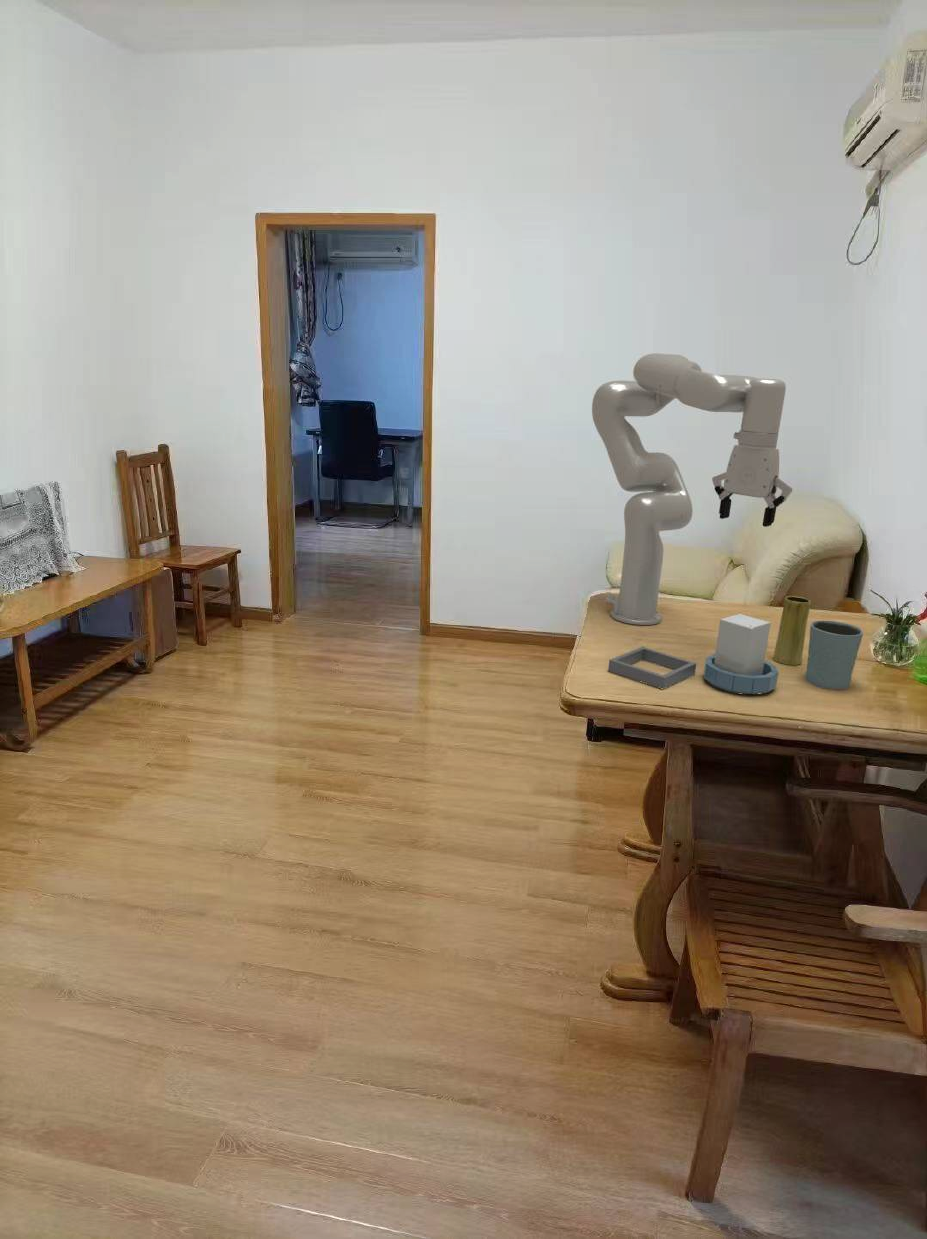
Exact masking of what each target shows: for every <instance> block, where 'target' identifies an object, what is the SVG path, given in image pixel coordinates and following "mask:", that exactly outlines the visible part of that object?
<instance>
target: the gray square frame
mask: <svg viewBox="0 0 927 1239" xmlns="http://www.w3.org/2000/svg"><path fill="white" fill-rule="evenodd" d="M641 661H646V662H649V663H651V664H655V663H656V665H658V664H659V666H661V667H664V668H667V669H671V671H670V672H667V673H666V674H660V673H657V672H654V671H651V670H647V669H646V668H645V669H644V668H642V667H639V666H636V665H633V663H634V664H635V663H638V662H641ZM696 667H697V662H694V661H691V660H688V659H684V658H681V657H679V656H678V657H677V656H675V655H671V654H668V653H664V652H662V651H658V650H654V649H652V648H648V647H644V646H640V647H639V648H636V649H633V650H631V651H629V652H625V653H623V654H621V655H619V656H615V657H613V658H611V659H609V660H608V668H607V671H608V672H610V673H613V674H616V675H618V676H621V675H623V676H622V677H624V676H625V678H627V679H630V680H632V681H636V680H637V682H639V681H642V682H644V683H643V684H645V683H647V684H646V685H648V684H650V685H649V686H651V685H652V686H651V687H654V686H655V687H654V688H657V687H660V688H663V689H664V688H665V687H668V688H670V687H672V686H674V685H676V684H678V683H680V682H681V681H684V680H686V679H688V678H690V677H693V676H694V675H696V669H697V668H696ZM674 669H675V670H674ZM679 681H680V682H679ZM642 682H641V683H642ZM677 682H678V683H677ZM675 683H676V684H675ZM673 684H674V685H673ZM671 685H672V686H671ZM669 686H670V687H669ZM660 688H659V689H660ZM663 689H662V690H663ZM664 690H665V689H664Z"/></svg>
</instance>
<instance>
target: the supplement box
mask: <svg viewBox="0 0 927 1239" xmlns="http://www.w3.org/2000/svg"><path fill="white" fill-rule="evenodd" d="M770 628H771V622H769V621H766V620H762V619H759V618H755V617H752V616H749V615H745V614H742V613H738V614H735V615H730V616H727V617H724V618H721V619H720V620H719V626H718V634H717V640H716V641H717V643H716V648H715V653H714V654H715V661H714V665H715V666H716V667H718V668H720V669H721V670H725V671H728V672H731V673H735V674H741V675H749V676H757V675H762V673H763V667H764V661H765V660H766V653H767V647H768V641H769V635H770Z"/></svg>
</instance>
